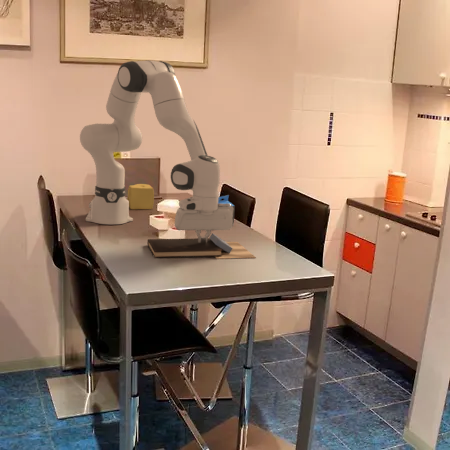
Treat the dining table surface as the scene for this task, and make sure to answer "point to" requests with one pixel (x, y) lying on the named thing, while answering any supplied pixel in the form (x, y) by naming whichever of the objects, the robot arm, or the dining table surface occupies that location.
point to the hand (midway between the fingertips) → (202, 242)
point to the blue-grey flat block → (220, 243)
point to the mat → (235, 252)
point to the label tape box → (227, 203)
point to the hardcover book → (183, 248)
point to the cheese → (140, 196)
